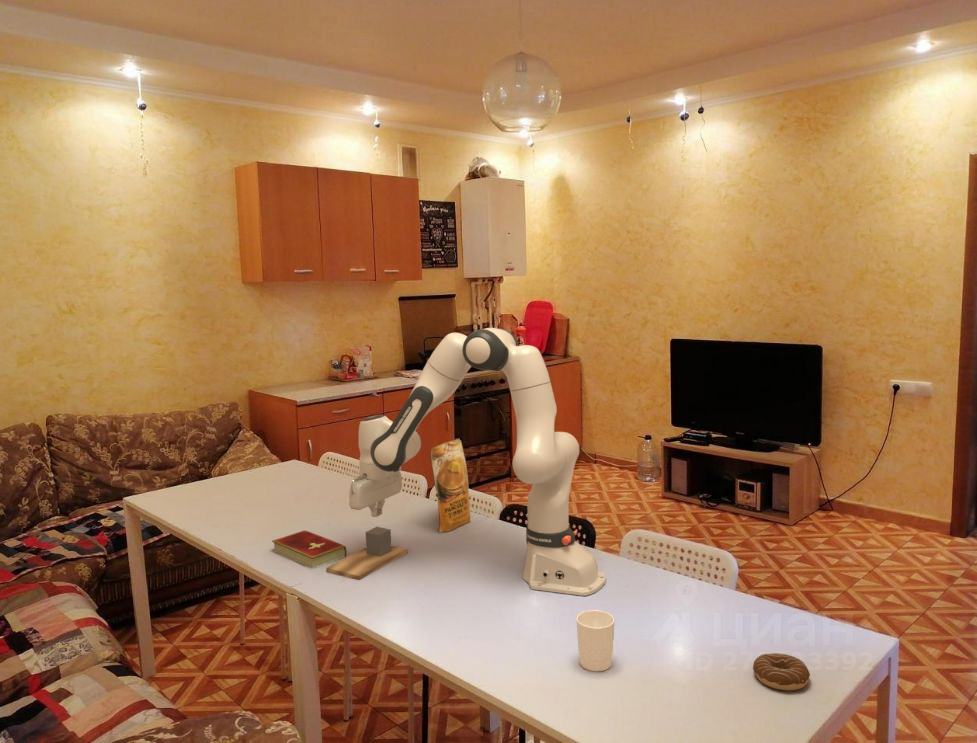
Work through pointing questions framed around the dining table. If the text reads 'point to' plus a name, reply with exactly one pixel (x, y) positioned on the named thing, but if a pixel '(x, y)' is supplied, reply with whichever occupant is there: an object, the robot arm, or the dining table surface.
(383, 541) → the gray rectangular block
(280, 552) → the hardcover book
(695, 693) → the dining table surface
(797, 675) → the donut
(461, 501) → the pancake mix bag
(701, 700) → the dining table surface
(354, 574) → the board
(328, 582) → the dining table surface
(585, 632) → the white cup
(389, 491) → the robot arm
